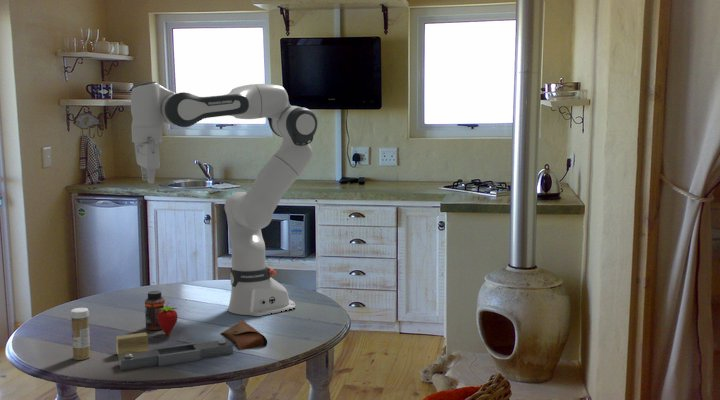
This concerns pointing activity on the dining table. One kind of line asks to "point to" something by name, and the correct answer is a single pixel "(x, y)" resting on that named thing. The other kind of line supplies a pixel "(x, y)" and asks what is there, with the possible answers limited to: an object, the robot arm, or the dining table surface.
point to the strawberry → (167, 318)
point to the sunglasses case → (244, 336)
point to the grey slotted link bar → (175, 354)
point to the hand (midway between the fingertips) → (148, 182)
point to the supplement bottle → (153, 309)
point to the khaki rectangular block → (132, 343)
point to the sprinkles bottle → (80, 333)
